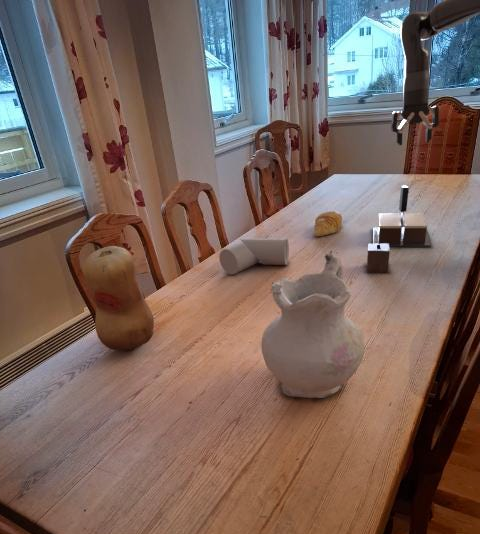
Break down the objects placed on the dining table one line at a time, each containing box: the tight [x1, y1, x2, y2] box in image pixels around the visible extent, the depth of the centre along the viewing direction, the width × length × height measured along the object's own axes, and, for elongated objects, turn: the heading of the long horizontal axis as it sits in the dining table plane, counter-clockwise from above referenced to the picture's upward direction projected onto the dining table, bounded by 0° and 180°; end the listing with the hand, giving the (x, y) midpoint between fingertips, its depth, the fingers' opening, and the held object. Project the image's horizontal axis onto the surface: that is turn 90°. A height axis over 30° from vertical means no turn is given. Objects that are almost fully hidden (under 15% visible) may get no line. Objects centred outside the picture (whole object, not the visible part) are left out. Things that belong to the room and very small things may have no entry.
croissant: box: [313, 211, 343, 237], centre depth 164 cm, size 21×10×8 cm, turn 147°
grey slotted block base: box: [372, 212, 432, 249], centre depth 149 cm, size 18×18×7 cm
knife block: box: [366, 242, 391, 274], centre depth 129 cm, size 6×6×7 cm
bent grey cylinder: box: [219, 238, 290, 276], centre depth 138 cm, size 18×10×20 cm
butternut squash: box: [83, 245, 155, 352], centre depth 99 cm, size 14×13×25 cm
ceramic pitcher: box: [261, 250, 366, 399], centre depth 82 cm, size 22×20×25 cm
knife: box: [398, 185, 410, 237], centre depth 147 cm, size 2×3×17 cm, turn 175°
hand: (413, 143), depth 142 cm, fingers open, 8 cm apart
